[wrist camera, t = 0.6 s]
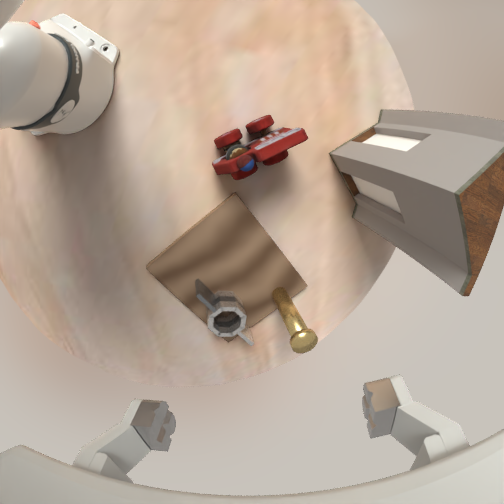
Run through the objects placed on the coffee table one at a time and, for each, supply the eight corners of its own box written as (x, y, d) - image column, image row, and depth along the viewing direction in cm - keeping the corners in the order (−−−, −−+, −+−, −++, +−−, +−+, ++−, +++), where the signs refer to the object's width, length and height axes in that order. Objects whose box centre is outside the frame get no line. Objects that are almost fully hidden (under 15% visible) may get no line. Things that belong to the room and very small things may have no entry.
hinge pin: (264, 293, 53) (286, 344, 40) (282, 280, 52) (309, 328, 40) (276, 306, 54) (300, 357, 42) (293, 293, 54) (322, 342, 41)
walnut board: (146, 265, 47) (146, 268, 46) (234, 192, 45) (236, 194, 44) (227, 338, 57) (228, 342, 56) (305, 282, 55) (307, 285, 54)
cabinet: (358, 218, 52) (468, 296, 27) (313, 208, 49) (421, 293, 24) (387, 112, 44) (519, 128, 19) (343, 93, 42) (480, 86, 17)
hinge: (183, 289, 49) (183, 306, 45) (210, 268, 48) (213, 283, 44) (235, 336, 56) (239, 354, 51) (260, 319, 55) (266, 335, 50)
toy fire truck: (201, 145, 41) (204, 149, 32) (274, 110, 41) (298, 107, 32) (222, 184, 44) (230, 200, 35) (292, 150, 44) (318, 157, 35)
